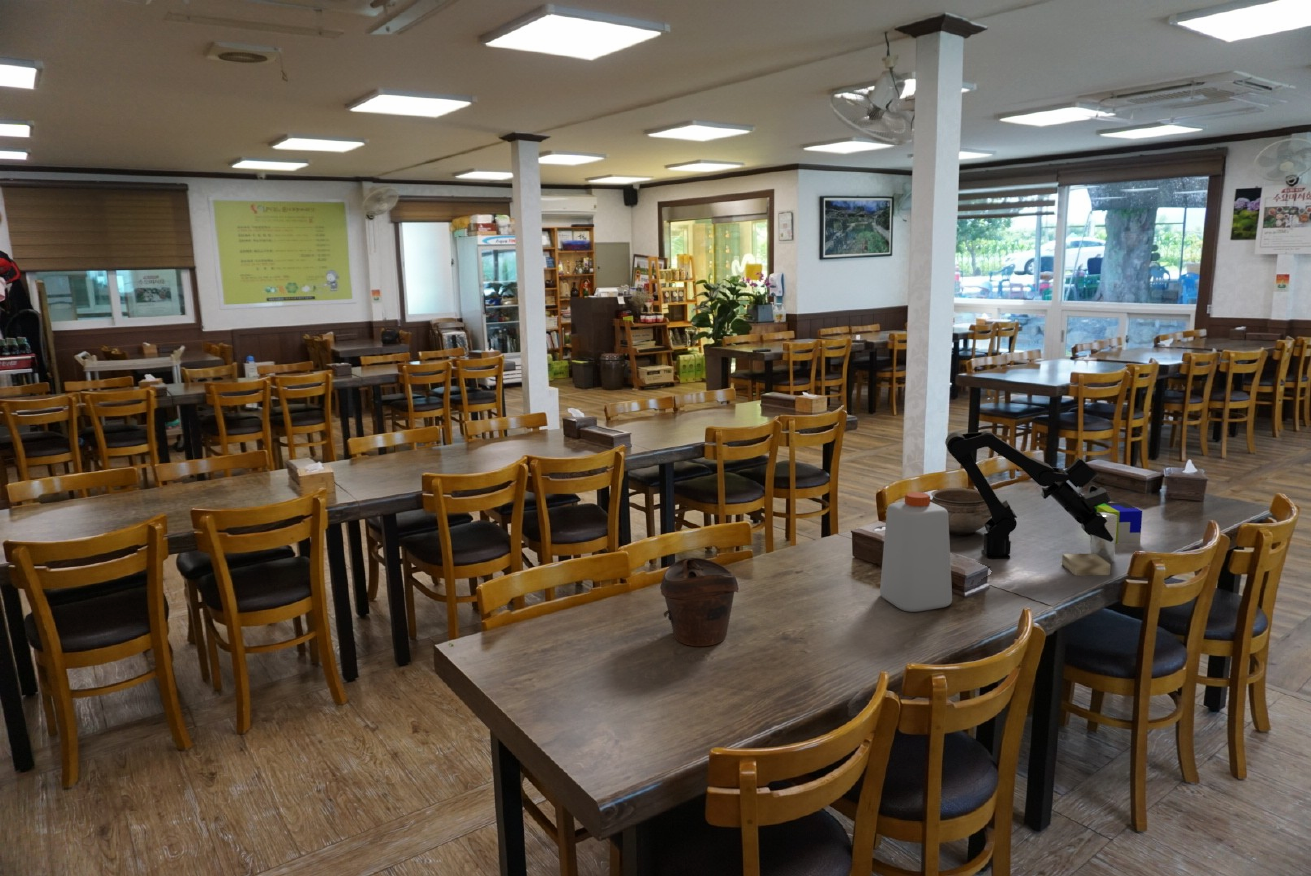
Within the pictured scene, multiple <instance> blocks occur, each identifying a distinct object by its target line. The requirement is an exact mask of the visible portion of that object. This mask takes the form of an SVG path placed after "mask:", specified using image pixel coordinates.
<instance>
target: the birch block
mask: <svg viewBox="0 0 1311 876" xmlns="http://www.w3.org/2000/svg"><path fill="white" fill-rule="evenodd" d="M1061 556H1062V558H1061V560H1062V561H1061V565H1062V566H1063V567H1064V568H1066V569H1067V570H1068V571H1070V573H1072V574H1073V575H1074V576H1110V574H1111V563H1108V562H1107V561H1105V560H1104V559H1102V558H1101V557H1100V556H1098V555H1097V554H1091V553H1062V555H1061Z"/></svg>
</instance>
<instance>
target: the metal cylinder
mask: <svg viewBox="0 0 1311 876" xmlns="http://www.w3.org/2000/svg"><path fill="white" fill-rule="evenodd" d="M1099 513H1100V514H1101V515H1102V516H1103V517H1104V518H1105V519H1106V520H1107V522H1106V523H1105V527H1106V529H1107V530H1108V532H1109V533H1110V535H1111V536H1112V538H1113V539H1114V540H1113V541H1112V542H1109V541H1107V540H1104V539H1102V538H1099V537H1097V536H1094V535H1091V541H1090V554H1097V555H1098V556H1100V557H1101V558H1102V559H1104V560H1105V561H1107V562H1108V563H1109V564H1112V563H1114V562H1115V556H1116V555H1115V554H1116V553H1115V552H1116V544H1115V541H1116V526H1117V515H1115V514H1111V513H1104V512H1099Z"/></svg>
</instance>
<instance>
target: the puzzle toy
mask: <svg viewBox="0 0 1311 876" xmlns="http://www.w3.org/2000/svg"><path fill="white" fill-rule="evenodd" d="M1095 508H1096V510H1097V512H1098V513H1099V512H1104V513H1111V514H1115V515H1117V526H1116V541H1115V545H1117V544H1118V545H1120V544H1140V543H1141V535H1142V534H1141V532H1142V523H1143V510H1142V509H1140V508H1137V507H1135V506H1133V505H1131V504H1129V503H1128V502H1125V501H1121V502H1118V501H1117V502H1115V501H1114V502H1108V503H1104V504H1101V505H1099V506H1095Z"/></svg>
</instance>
